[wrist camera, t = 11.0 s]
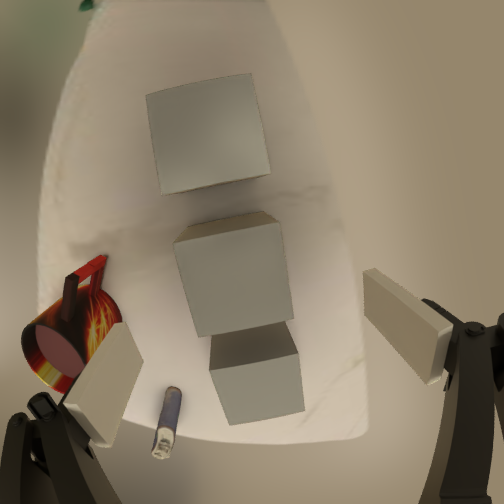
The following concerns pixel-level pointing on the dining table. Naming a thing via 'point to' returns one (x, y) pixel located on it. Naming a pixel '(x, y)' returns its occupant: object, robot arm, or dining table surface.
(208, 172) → the pale grey cube
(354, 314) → the dining table surface
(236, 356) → the large plain grey block
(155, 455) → the flask
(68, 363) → the mug
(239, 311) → the pale gray cube
